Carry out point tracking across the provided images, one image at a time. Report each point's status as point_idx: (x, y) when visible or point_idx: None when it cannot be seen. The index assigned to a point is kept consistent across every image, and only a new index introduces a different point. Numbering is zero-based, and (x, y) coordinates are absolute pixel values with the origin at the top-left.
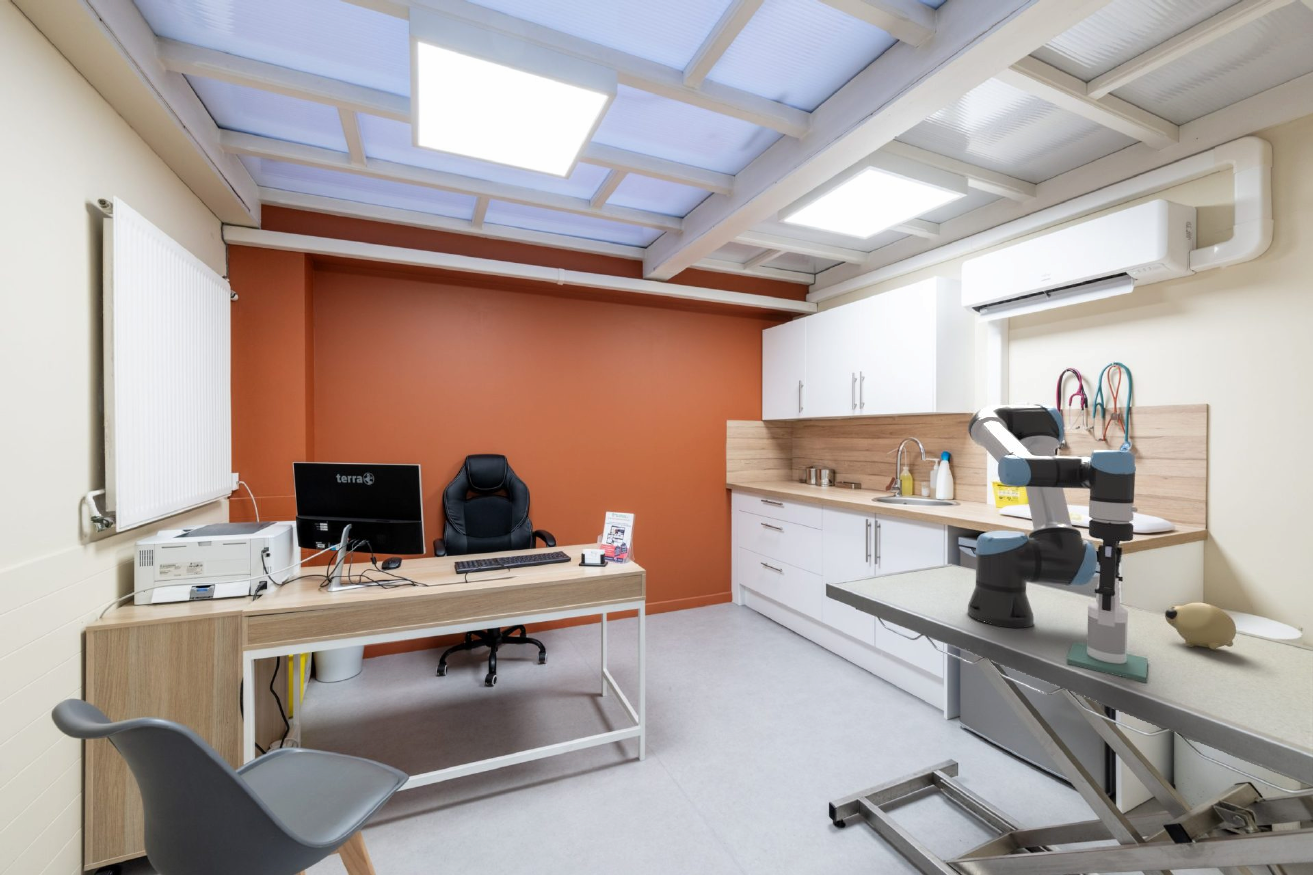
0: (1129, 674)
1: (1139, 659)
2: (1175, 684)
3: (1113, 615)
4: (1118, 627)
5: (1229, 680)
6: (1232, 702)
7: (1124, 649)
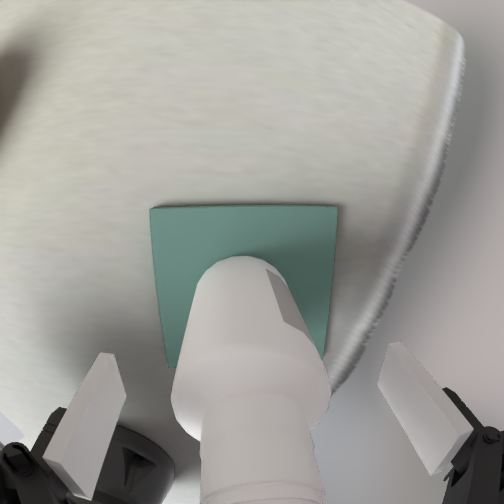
0: (334, 242)
1: (181, 226)
2: (294, 143)
3: (423, 371)
4: (306, 329)
5: (153, 43)
6: (326, 48)
7: (268, 274)
